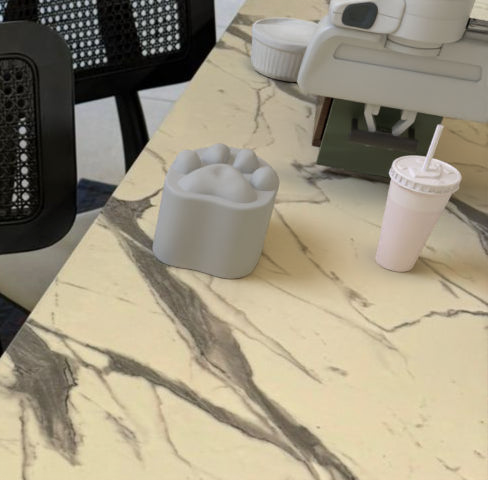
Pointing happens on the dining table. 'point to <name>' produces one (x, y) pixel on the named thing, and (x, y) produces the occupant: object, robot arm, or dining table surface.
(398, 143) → the drawer
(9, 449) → the dining table surface
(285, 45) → the ramekin
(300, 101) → the dining table surface
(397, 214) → the smoothie
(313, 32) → the robot arm
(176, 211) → the lumpy-topped squat cylinder
